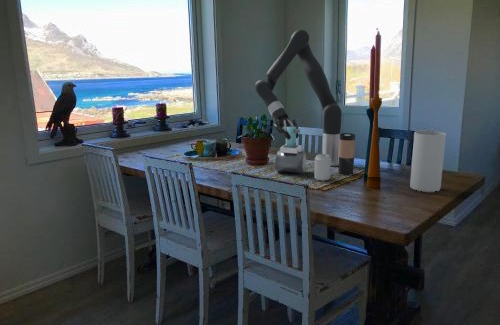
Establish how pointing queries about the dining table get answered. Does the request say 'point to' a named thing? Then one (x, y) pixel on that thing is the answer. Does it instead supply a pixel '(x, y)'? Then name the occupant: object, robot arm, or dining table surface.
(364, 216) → the dining table surface
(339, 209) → the dining table surface
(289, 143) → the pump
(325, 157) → the can
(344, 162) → the travel mug
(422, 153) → the cylinder vase
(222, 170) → the dining table surface
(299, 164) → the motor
